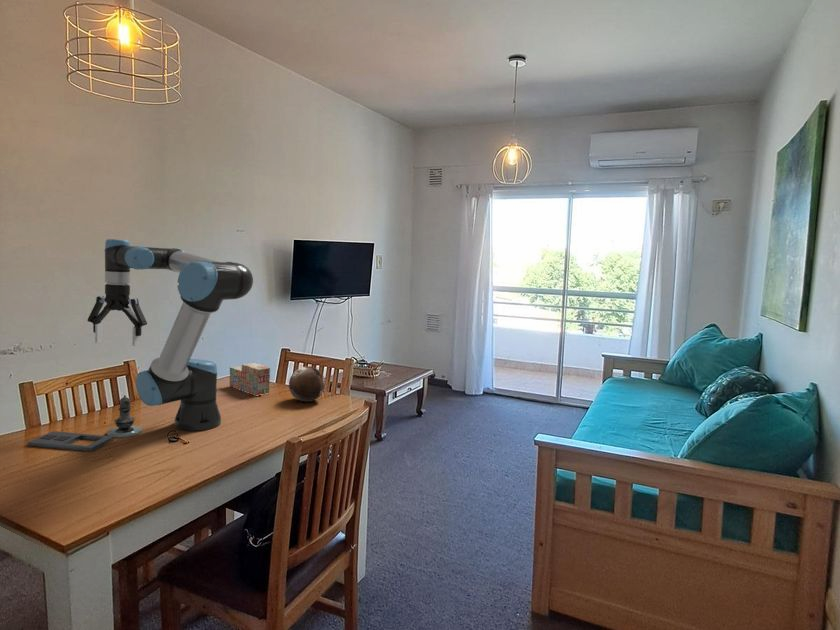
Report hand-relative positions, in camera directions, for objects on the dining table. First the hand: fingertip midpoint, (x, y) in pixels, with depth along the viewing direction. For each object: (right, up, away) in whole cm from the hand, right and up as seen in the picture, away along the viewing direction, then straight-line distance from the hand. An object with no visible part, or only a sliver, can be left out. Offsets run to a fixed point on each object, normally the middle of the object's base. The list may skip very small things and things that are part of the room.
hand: (117, 343), depth 182 cm
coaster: (+9, -29, -12) cm, 32 cm away
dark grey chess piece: (+9, -28, -12) cm, 32 cm away
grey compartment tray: (0, -29, -23) cm, 37 cm away
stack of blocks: (+30, -24, +49) cm, 62 cm away
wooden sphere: (+58, -27, +38) cm, 75 cm away
